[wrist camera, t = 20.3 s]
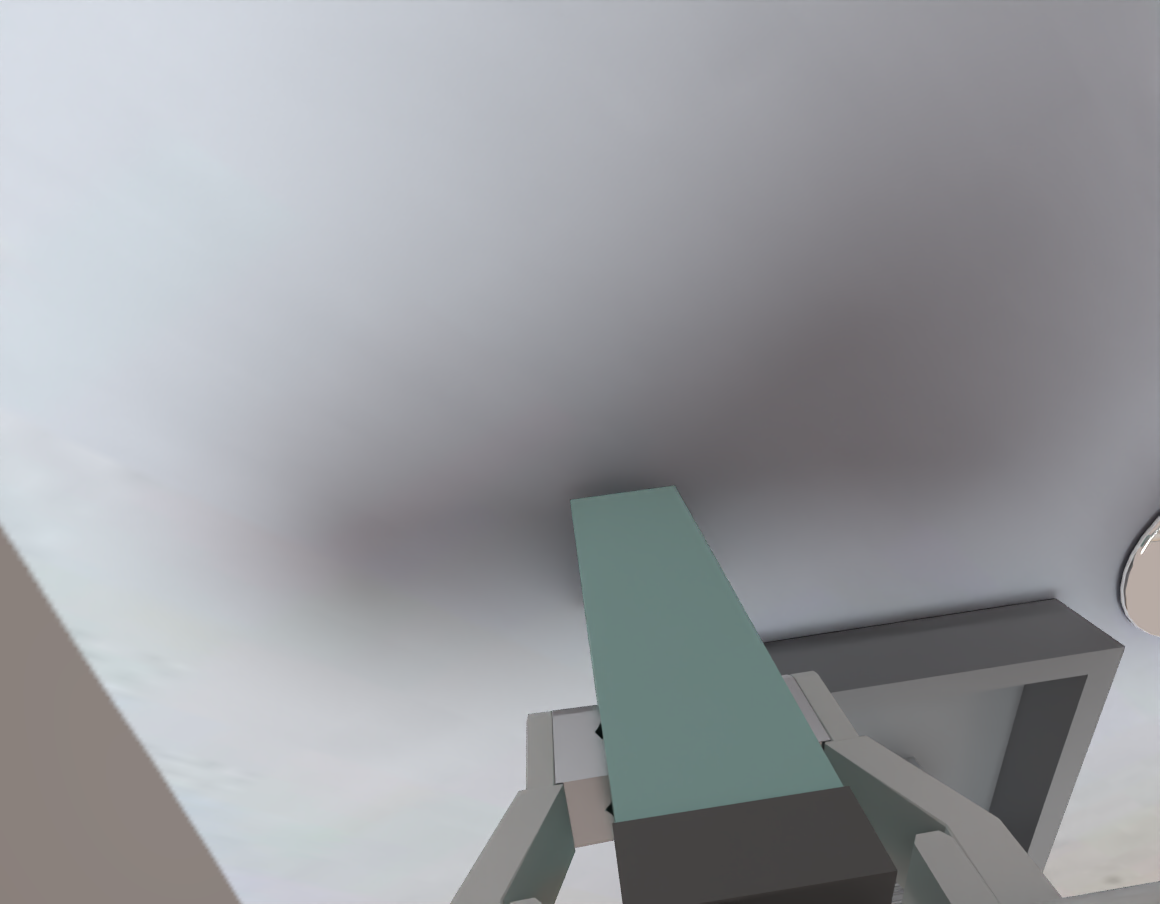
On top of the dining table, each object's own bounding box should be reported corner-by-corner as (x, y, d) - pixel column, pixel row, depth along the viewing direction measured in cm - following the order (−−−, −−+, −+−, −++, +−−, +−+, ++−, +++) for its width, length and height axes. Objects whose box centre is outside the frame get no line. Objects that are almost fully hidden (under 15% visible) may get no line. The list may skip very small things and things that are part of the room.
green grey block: (568, 498, 15) (624, 914, 6) (676, 483, 15) (897, 869, 6) (587, 639, 17) (651, 1117, 8) (682, 625, 17) (856, 1080, 8)
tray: (1056, 598, 20) (1124, 646, 18) (990, 825, 25) (1037, 885, 23) (685, 655, 19) (706, 712, 17) (694, 875, 24) (712, 942, 22)
